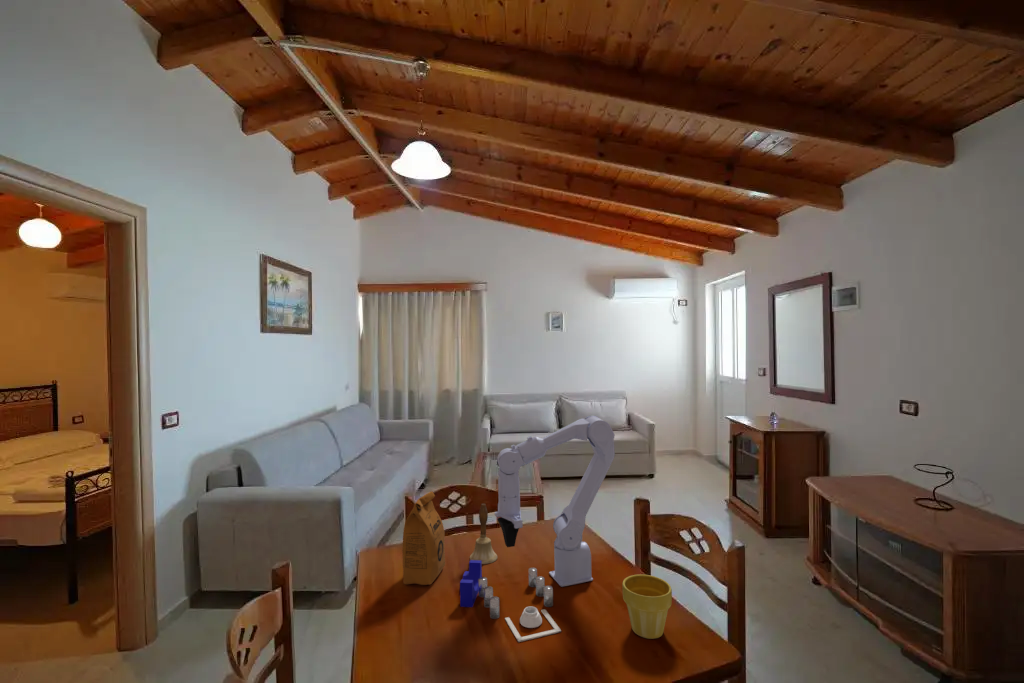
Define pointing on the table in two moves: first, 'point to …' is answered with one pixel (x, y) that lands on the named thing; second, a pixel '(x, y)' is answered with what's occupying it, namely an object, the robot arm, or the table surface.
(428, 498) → the coffee package
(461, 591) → the blue curved block
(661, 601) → the plant pot
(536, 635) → the outline bay
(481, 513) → the hand bell
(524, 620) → the white jar
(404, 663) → the table surface
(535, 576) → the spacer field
